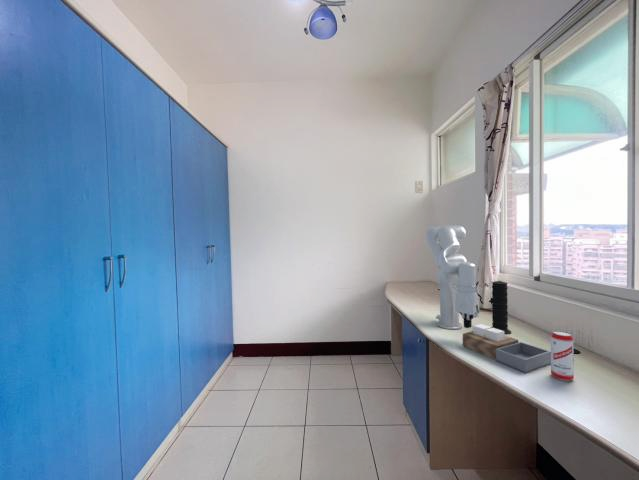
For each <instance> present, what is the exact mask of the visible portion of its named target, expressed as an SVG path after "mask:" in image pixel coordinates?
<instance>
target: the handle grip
mask: <svg viewBox="0 0 639 480" xmlns="http://www.w3.org/2000/svg"><path fill="white" fill-rule="evenodd" d="M491 283H492V286H491V288H492V290H491V295H492V296H491V297H492V299H491V300H492V302H491V303H492V304H491V306H492V308H491V309H492V311H491V312H492V317H491V319H492V323H491V324H492V326H490V327H491V328H495V329H499V330H502V331H504V335H511V334H512V330H510V329H509V328H508V327H509V323H508V321H509V320H508V315H509V314H508V313H509V312H508V307H509V306H508V302H509V301H508V282H505V281H501V280H496V281H491Z"/></svg>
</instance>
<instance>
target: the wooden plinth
mask: <svg viewBox="0 0 639 480" xmlns="http://www.w3.org/2000/svg"><path fill="white" fill-rule="evenodd" d="M504 337H505V339H504V340H500V341H494V340H491V339H489V338H486V336H485V337H483V336H480V335H477V334H474V333H473V331H467V332H463V333H462V347H463V346H464V347H463V348H465V347H466V349H468V350H470V349H471V350H470V351H473V350H474V351H473V352H475V351H476V352H475V353H479V354H481V355H482V356H485V357H488V358H490V359H493V360H495V361H496V349H498V348H501V347H505V346H508V345H512V344H515V343H518V342H519V339H517V338H514V337H511V336H507V335H506V334H504Z"/></svg>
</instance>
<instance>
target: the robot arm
mask: <svg viewBox="0 0 639 480" xmlns="http://www.w3.org/2000/svg"><path fill="white" fill-rule="evenodd" d="M425 236H426V237H425V239H426V242H427V244H428V246H429V248H430V249H431V252H433V253H432V254H433V257H434V260H435V264H436V266H437V268H438V270H440V271H438V273H437V281H438V286H439V314H437V315H436V316H435V319H437V320H438V321H437V324H436V325H437V326H438V327H440V328H443V329H446V330H459V329H462V328H465V329H470V328H472V324H473V323H472V320H473V319H474V318H475V319H476V318H479V313H480V301H479V295H478V292H477V268H476V267H477V266H476V264H475V263H472V262H470V261H468V260H467V258H466V257H465V256H464V255H463V254H461V253H457V252H459V251H460V249H461V245H460V242H459V241H464V240H465V239H466V236H467V232H466V229H465V227H464V226H462V225H444V226H440V225H439V226H432V227H428V228H427V230H426V233H425ZM454 287H456V288H458V289H457V290H456V289H455V288H454ZM460 315H461V319H463V324H462V323H461V322H460Z"/></svg>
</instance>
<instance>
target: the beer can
mask: <svg viewBox="0 0 639 480" xmlns="http://www.w3.org/2000/svg"><path fill="white" fill-rule="evenodd" d="M574 342H575V339H574V338H573V335H572V333H570V332H567V331H564V330H553V331H552V334H551V335H550V351H551V364H550V373H551V375H552V376H553V377H554V379H557V380H559V381H563V382H571V381H573V380H574V375H575V373H574V371H575V370H574V368H575V367H574V366H575V364H574V363H575V362H574V361H575V359H574V356H575V354H574V353H575V352H574V351H575V349H574V346H575V345H574Z"/></svg>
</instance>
